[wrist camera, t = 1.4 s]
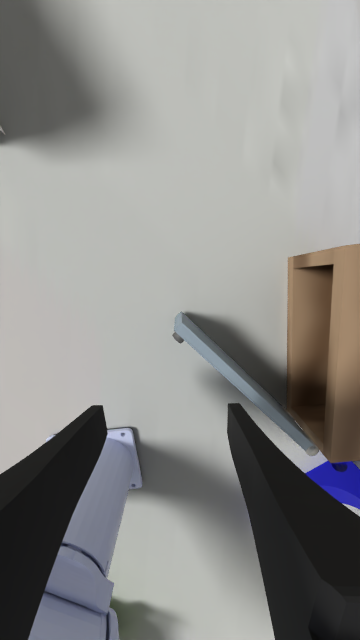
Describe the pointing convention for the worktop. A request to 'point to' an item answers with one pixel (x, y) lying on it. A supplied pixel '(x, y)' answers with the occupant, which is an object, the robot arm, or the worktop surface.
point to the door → (241, 380)
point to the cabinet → (325, 349)
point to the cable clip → (339, 481)
